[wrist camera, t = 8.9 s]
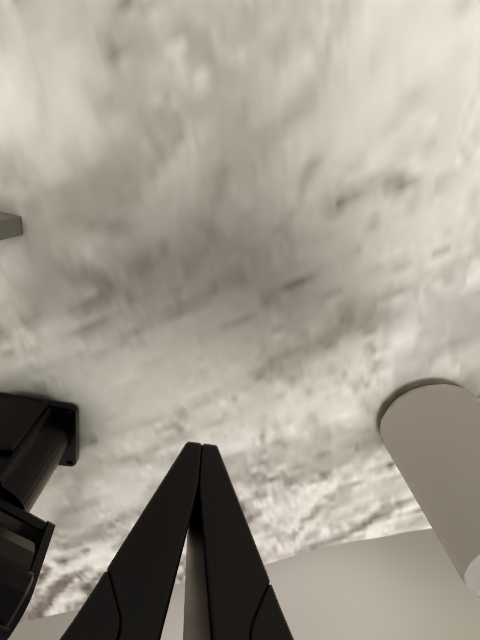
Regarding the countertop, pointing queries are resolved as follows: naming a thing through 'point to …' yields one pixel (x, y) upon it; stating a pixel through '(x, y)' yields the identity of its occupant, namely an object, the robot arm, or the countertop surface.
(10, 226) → the box
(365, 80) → the countertop surface
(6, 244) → the countertop surface
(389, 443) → the can
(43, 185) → the countertop surface
